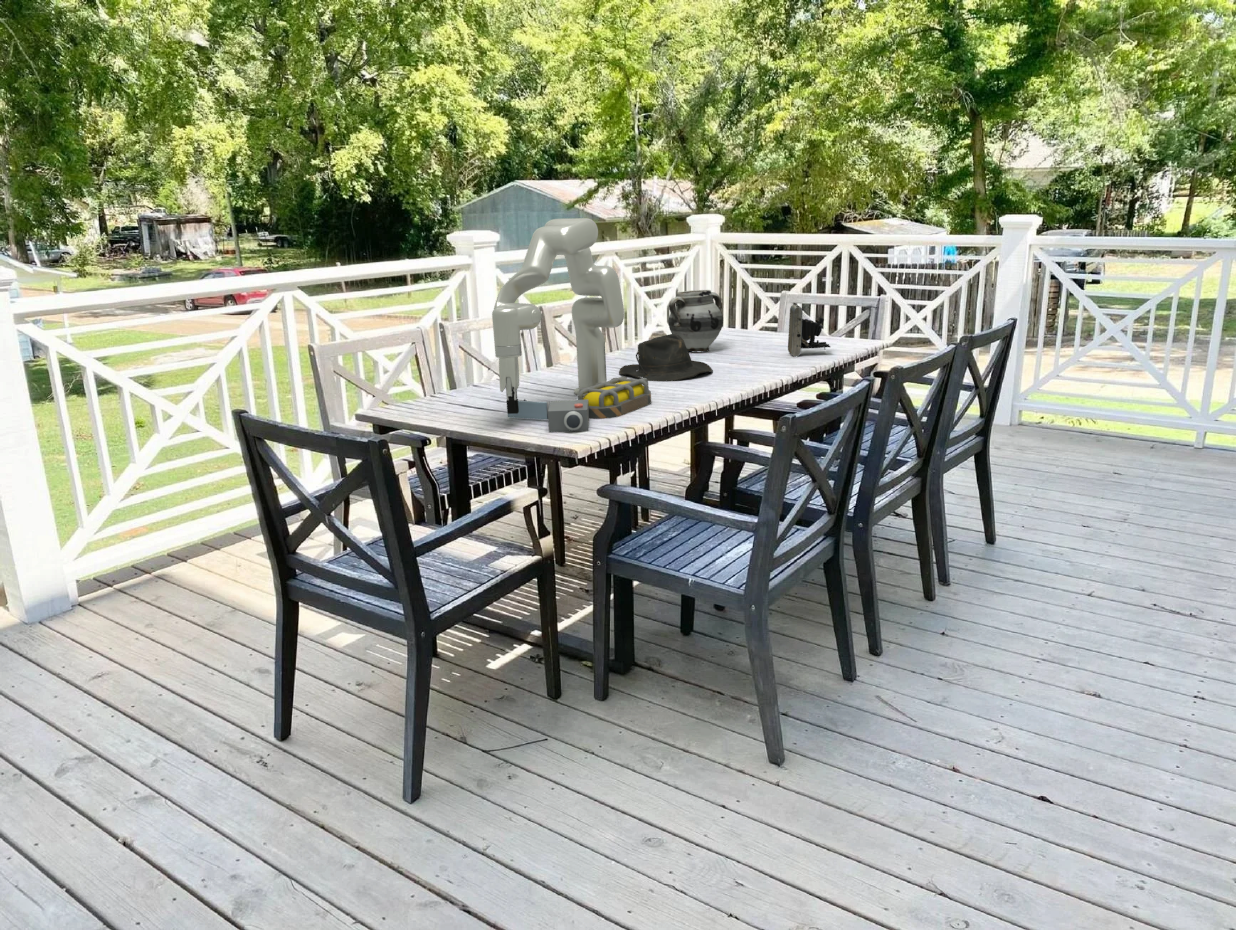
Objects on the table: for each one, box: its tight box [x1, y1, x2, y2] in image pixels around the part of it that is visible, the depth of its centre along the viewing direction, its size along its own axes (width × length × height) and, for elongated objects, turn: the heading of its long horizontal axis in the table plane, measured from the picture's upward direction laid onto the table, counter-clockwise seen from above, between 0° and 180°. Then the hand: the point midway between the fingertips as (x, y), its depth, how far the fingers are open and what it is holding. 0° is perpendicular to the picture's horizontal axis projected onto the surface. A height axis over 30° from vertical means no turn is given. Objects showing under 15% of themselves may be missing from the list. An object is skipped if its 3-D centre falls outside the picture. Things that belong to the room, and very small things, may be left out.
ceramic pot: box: [667, 289, 724, 352], centre depth 384 cm, size 29×23×25 cm
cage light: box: [577, 375, 652, 420], centre depth 286 cm, size 15×8×30 cm
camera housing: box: [547, 399, 590, 433], centre depth 266 cm, size 16×11×7 cm
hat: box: [618, 333, 713, 383], centre depth 341 cm, size 32×35×14 cm
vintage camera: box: [787, 303, 831, 357], centre depth 366 cm, size 10×16×20 cm, turn 89°
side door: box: [507, 400, 551, 421], centre depth 276 cm, size 14×1×5 cm, turn 68°
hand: (513, 412), depth 271 cm, fingers closed
